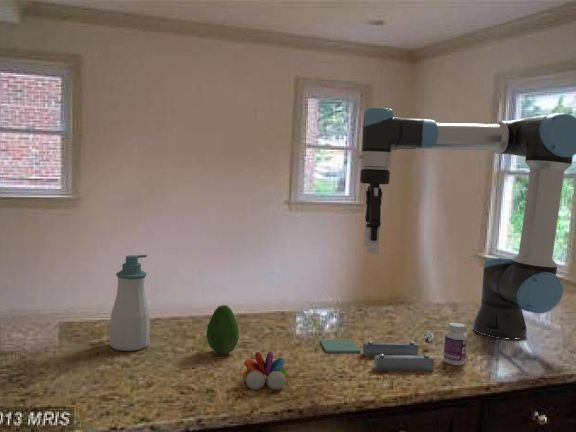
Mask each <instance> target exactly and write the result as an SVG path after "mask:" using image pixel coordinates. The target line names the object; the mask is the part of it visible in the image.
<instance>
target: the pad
mask: <svg viewBox="0 0 576 432" xmlns="http://www.w3.org/2000/svg"><path fill="white" fill-rule="evenodd" d="M319 343H320V345H321V346H322V348H323V350H324V352H325V353H326V354H361V351H362V350H361V349H360V348H359V346H358V345H357V344H356V343H355V342H354V340H353V339H319Z"/></svg>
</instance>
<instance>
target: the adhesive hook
mask: <svg viewBox="0 0 576 432" xmlns="http://www.w3.org/2000/svg"><path fill="white" fill-rule="evenodd" d="M434 335H435V333H433V332H432V331H430V330H427V332H426V333H425V336H424V338H425V340H427V342H430V343H431V342H432V341H435V336H434Z"/></svg>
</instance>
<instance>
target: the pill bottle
mask: <svg viewBox="0 0 576 432" xmlns="http://www.w3.org/2000/svg"><path fill="white" fill-rule="evenodd" d="M447 327H448V331H446V332H445V334H444V344H443V345H444V346H443V358H442V359H443V362H444V363H446V364H448V365H454V366H463V365H464V364H466V357H467V348H468V347H467V344H468V335H467V333H465V331H466V324H463V323H460V322H449V323H448V326H447Z"/></svg>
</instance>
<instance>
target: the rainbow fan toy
mask: <svg viewBox="0 0 576 432" xmlns="http://www.w3.org/2000/svg"><path fill="white" fill-rule="evenodd" d="M254 356H255V361H254V360H251V359H247V360H245V361H244V363H243V364H244V366H245V368H246V369H245V371H244V372H243V374H242V379H243V381H244V382H245V383H246V385H247V386H248V388H249V389H251V390H255V391H256V390H260V389H262V388H263V387H264V385H265V384H266V385H267V386H268V387H269V389H270V390H272V391H273V390H274V391H278V390H279V391H280V390H282V388H284V386H285V384H286V380H287V379H288V378H289V377H288V376H289V373H288V370H286V369H284V368H283V366H284V365H285V363H286V362H285V359H284V358H283V357H279V358H278V357H277V359H274V353H273V351H271V350H270V351H268V352H267V354H266V357H265V361H264V358H263V355H262V354H261V353H260V352H259V351H256V352H255V353H254Z"/></svg>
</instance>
